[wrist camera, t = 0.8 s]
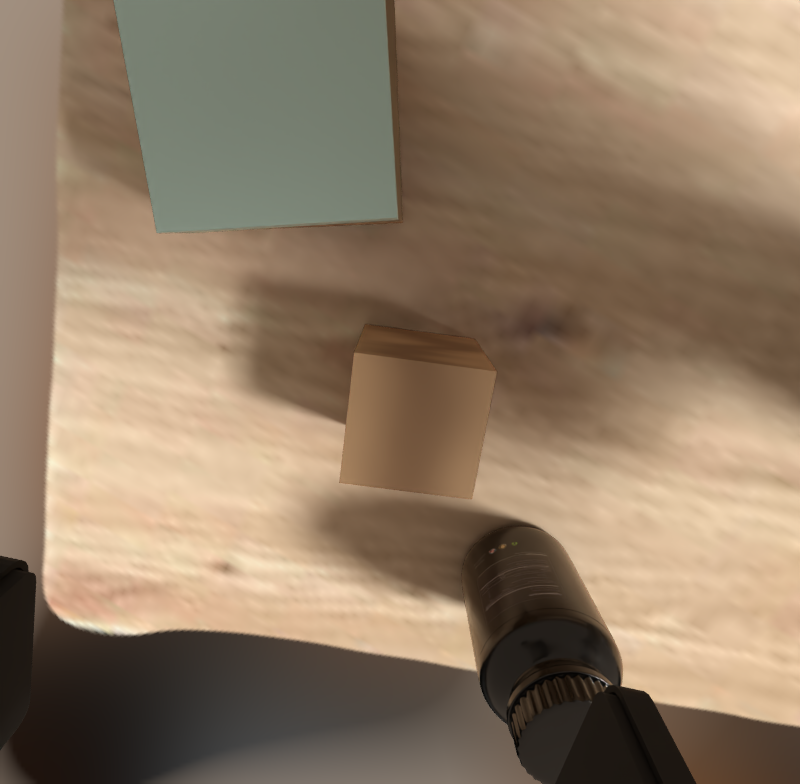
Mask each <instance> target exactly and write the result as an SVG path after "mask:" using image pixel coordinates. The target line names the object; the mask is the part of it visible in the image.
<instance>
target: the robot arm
mask: <svg viewBox="0 0 800 784" xmlns="http://www.w3.org/2000/svg"><path fill="white" fill-rule="evenodd" d="M35 592H36V576H35V574H34V573H30V572H28V565H27V563H26V562H25V561H22V560H18V559H13V558H8V557H3V556H0V750H1V749H2V747H3V746H4V744H5V743H6V742H7V741H8V740H9V738H10V737H11V736H12V735H13V733H14V732H15V731H16V729H17V728H18V727H19V725H20V724H21V722H22V720H23V718H24V717H25V714H26V712H27V710H28V707H29V703H30V691H31V673H32V653H33V652H32V651H33V633H34V612H35ZM555 784H696V782H695V781H694V779H693V777H692V775H691V773H690V771H689V769H688V767H687V765H686V763H685V761H684V759H683V757H682V756H681V754H680V752H679V750H678V748H677V746H676V744H675V742H674V740H673V738H672V736H671V735H670V733H669V731H668V729H667V727H666V725H665V723H664V721H663V719H662V717H661V715H660V714H659V712H658V710H657V708H656V706H655V704H654V702H653V700H652V699H651V697H650V696H649V695H648V694H647V693H646V692H644V691H640V690H635V689H630V688H626V687H621V686H616V685H609V686H608V687H607V688H606V689H605V691H604V692H598V693H597V694H596V695H595V697H594V699H593V701H592V703H591V705H590V707H589V710H588V712H587V714H586V716H585V719H584V721H583V723H582V725H581V727H580V730H579V732H578V734H577V736H576V738H575V741H574V743H573V745H572V747H571V750H570V752H569V754H568V756H567V758H566V761H565V763H564V765H563V767H562V769H561V772H560V774H559V776H558V778H557V781H556V783H555Z"/></svg>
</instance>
